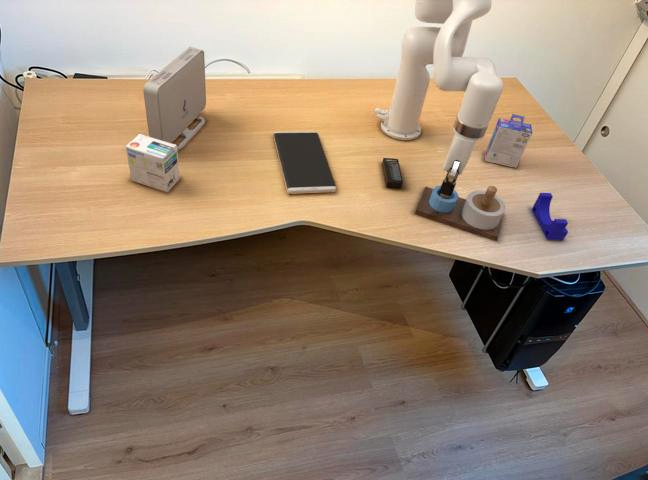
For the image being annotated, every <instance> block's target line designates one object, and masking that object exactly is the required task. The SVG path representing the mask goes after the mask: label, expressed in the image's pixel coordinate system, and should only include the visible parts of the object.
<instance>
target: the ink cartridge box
mask: <svg viewBox="0 0 648 480" xmlns="http://www.w3.org/2000/svg"><path fill="white" fill-rule="evenodd" d="M516 119H519V120H521V121H519V120H516ZM524 121H525V116H522V115H519V114H513V113H512V114H511V117H510V119H506V118H501V117H498V120H497V121H496V125H495V128H494V130H493V133H492V134H491V137H490V140H489V143H488V145H487V148H486V150H485V152H484V162H487V163H493V164H497V165H500V166H501V165H502V166H505V167H510V168H515V169H516V168H517V167H518V165H519V163H520V162H521V158H522V157H523V154H524V152H525V149H526V148H527V146H528V143H529V142H530V139H531V137H532V135H533V126H532V124H531V123H525V122H524Z"/></svg>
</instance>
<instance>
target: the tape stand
mask: <svg viewBox="0 0 648 480" xmlns="http://www.w3.org/2000/svg"><path fill="white" fill-rule="evenodd" d="M448 176H450V173H449V175H448ZM455 176H456V175H455ZM454 178H455V177H454ZM433 189H434V188H432V187H429V186H424V188H423V192H422V193H421V197H420V198H419V201H418V203H417V206H416V209H415V211H414V214H415V215H418V216H421V217H423V218H427V219H430V220H433V221H435V222H439V223H441V224H445V225H448V226H451V227H454V228H456V229H460V230H463V231H466V232H469V233H472V234H475V235H478V236H481V237H483V238H487V239H490V240H493V241H498V238H499V237H500V232H501V228H502V223H503V218H504V214H505V211H506V204H505V202H504V200H503V199H501V198H500V197H499V196H498V195H496V194H497V192H498V188H497V187H496V186H494V185H488V186H487V187H486V190H474V191H471V192H470V193H469V194H468V195H467V197H466V198H463V197H460V196H458V200H457V202H456V205H455V207H454V210H452V211H451V212H448V213H444V212H439V211H436V210H435V209H433V208H432V207H431V206H430V204H429V200H430V197H431V194H432V191H433ZM440 197H441V198H443V199H449V196H447V195H444V194H440Z"/></svg>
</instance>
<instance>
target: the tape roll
mask: <svg viewBox="0 0 648 480" xmlns="http://www.w3.org/2000/svg"><path fill="white" fill-rule="evenodd" d="M440 188H441V185H436V186H435V187H433V188H432V189H433V191H432V194H431V197H430V200H429V204H430V206H431V207H432V208H433V209H435V210H436V211H439V212H444V213H448V212H451V211H452V210H454V207H455V205H456V202H457V200H458V197H459V193H458V191H456V190H455V189H454V190H453V193H452V196H449V199H443V198H441V197H440V194H441V193H439V191H440Z"/></svg>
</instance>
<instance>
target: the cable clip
mask: <svg viewBox="0 0 648 480" xmlns="http://www.w3.org/2000/svg"><path fill="white" fill-rule="evenodd" d="M553 198H554V196H553V194H552V193H551V192H540V193H539V194H538V197H537V198H536V200H535V202H534V203H533V205H532V207H531V212H532V213H533V215H534V217H535V219H536V221H537V224H538V225H539V227H540V229H541V230H542V233H543V234H544V236H545V238H546V241H564V240H565V239H566V237H567V236H568V233H569V230H568V229H567V227H568V224H569V222H568V220H567V218H554V219H553V220H552V217H551V212H550V210H551V209H550V208H551V203H552V200H553Z"/></svg>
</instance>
